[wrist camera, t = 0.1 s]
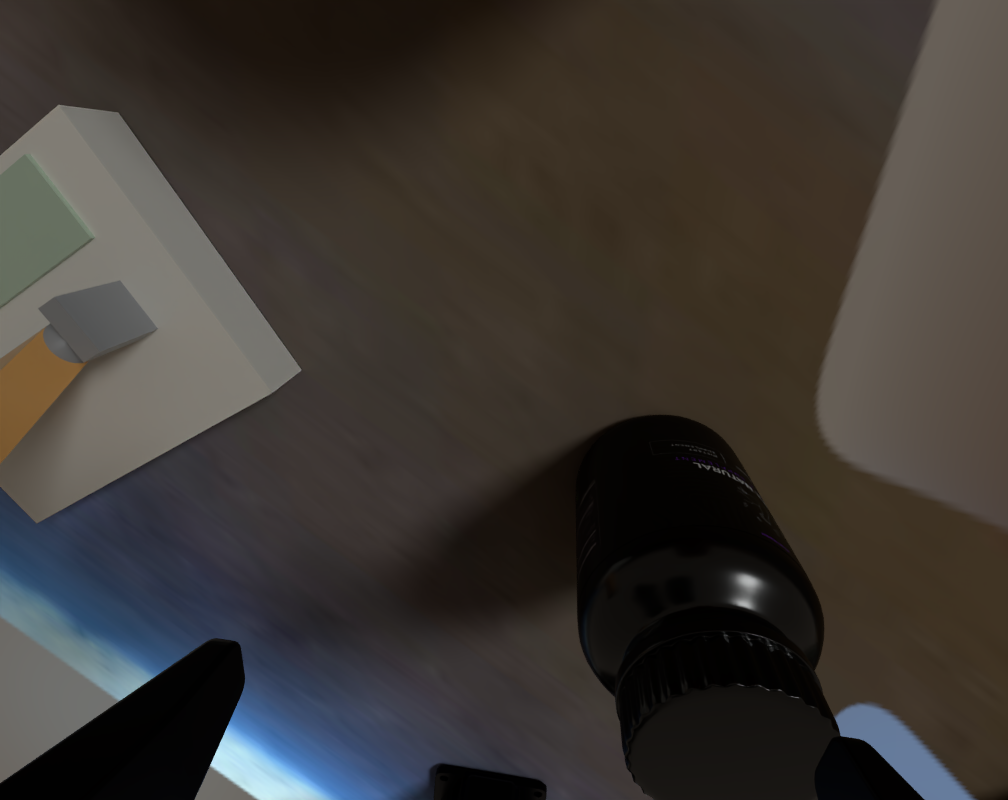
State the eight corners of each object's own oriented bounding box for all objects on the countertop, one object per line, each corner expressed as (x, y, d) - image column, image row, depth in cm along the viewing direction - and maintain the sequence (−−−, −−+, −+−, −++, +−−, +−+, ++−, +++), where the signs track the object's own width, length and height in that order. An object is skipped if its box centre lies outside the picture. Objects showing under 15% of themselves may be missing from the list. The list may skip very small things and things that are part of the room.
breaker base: (301, 370, 23) (232, 423, 18) (82, 492, 26) (-24, 564, 22) (118, 112, 19) (-27, 94, 15) (-103, 294, 23) (-276, 327, 18)
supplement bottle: (745, 405, 21) (941, 656, 10) (730, 546, 24) (872, 865, 13) (570, 410, 22) (579, 647, 11) (574, 545, 25) (584, 845, 14)
